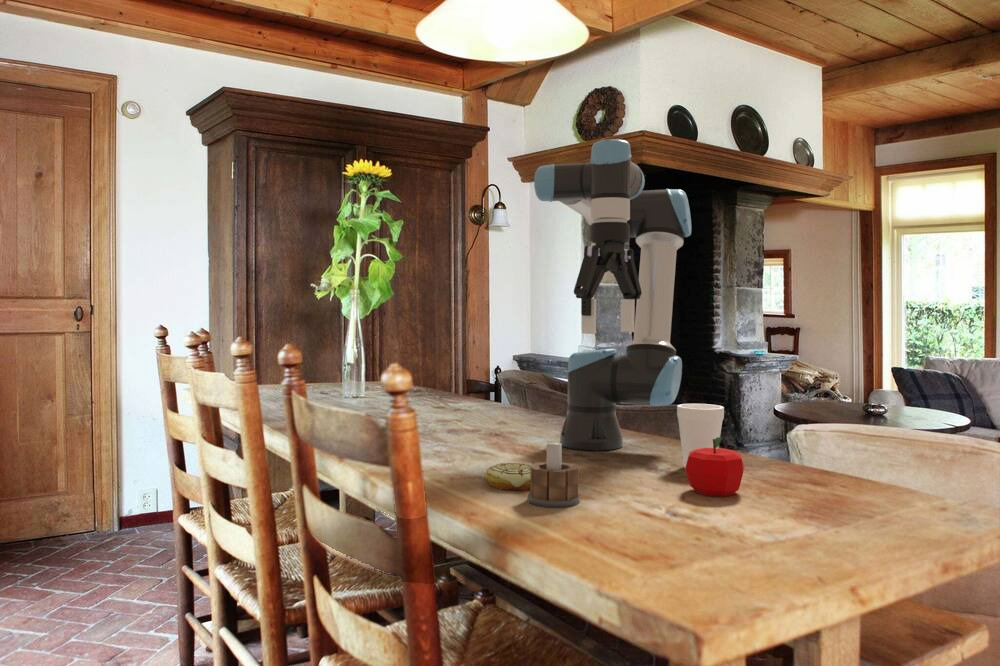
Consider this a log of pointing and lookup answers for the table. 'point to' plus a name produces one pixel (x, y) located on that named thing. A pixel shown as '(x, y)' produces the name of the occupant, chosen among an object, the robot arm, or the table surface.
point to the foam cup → (698, 426)
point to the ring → (554, 482)
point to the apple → (714, 470)
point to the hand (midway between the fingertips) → (608, 332)
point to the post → (554, 464)
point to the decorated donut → (509, 476)
